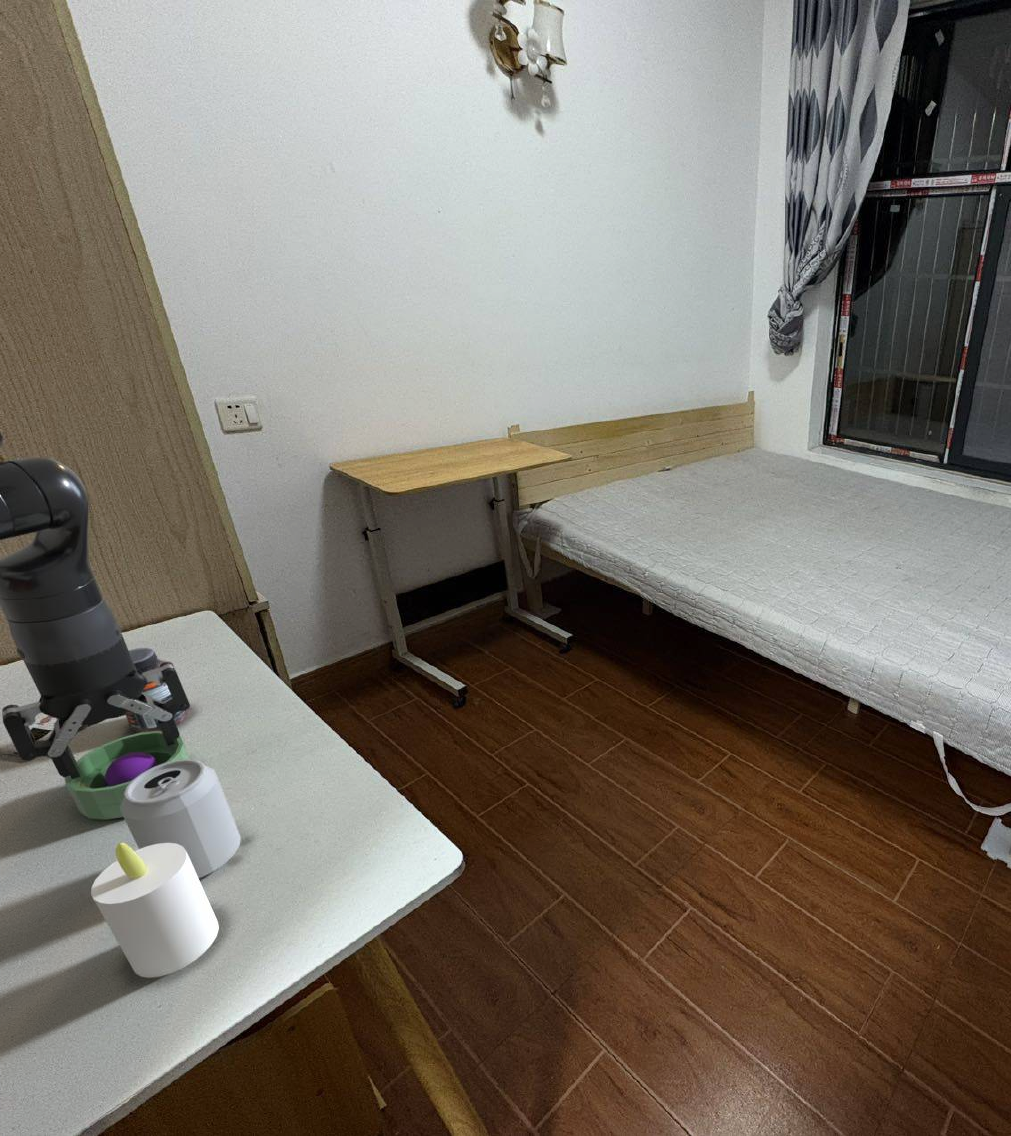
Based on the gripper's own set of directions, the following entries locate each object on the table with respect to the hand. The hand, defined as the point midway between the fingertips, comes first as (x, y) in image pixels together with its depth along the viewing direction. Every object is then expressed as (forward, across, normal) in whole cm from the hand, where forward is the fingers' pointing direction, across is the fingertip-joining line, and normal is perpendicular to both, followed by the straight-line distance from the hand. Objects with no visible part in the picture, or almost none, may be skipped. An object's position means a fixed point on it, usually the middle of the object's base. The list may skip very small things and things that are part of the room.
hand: (124, 757), depth 74 cm
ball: (+2, 0, 0) cm, 2 cm away
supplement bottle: (+5, -4, -14) cm, 15 cm away
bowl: (+5, 0, 0) cm, 5 cm away
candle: (+5, 0, +27) cm, 28 cm away
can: (+5, -3, +17) cm, 18 cm away
